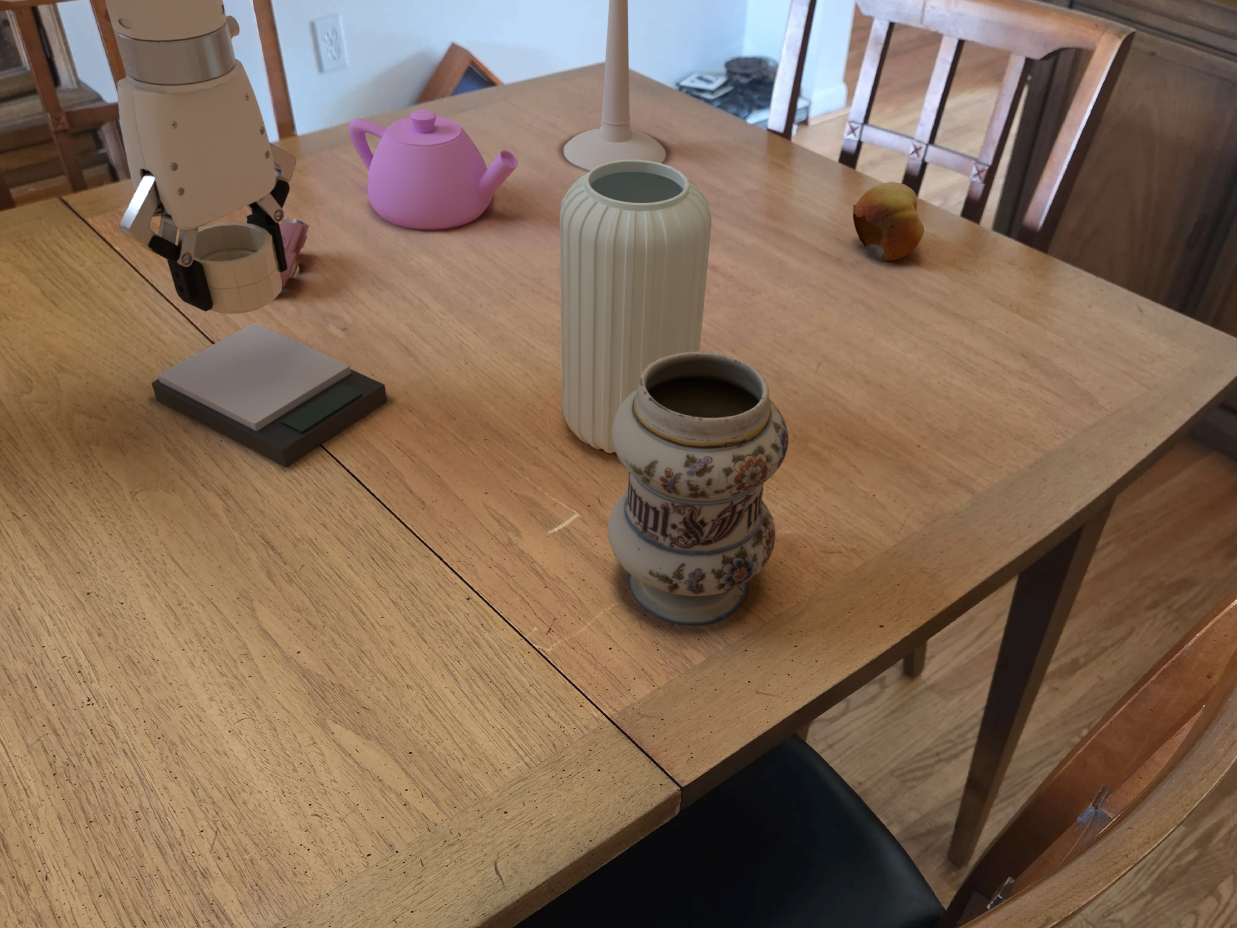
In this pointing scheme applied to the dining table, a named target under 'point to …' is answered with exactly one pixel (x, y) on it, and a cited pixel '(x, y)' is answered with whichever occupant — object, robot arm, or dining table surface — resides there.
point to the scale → (269, 393)
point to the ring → (238, 266)
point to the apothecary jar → (695, 485)
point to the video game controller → (292, 245)
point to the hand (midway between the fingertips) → (235, 283)
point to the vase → (627, 284)
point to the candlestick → (614, 107)
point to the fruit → (889, 219)
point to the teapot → (428, 171)
